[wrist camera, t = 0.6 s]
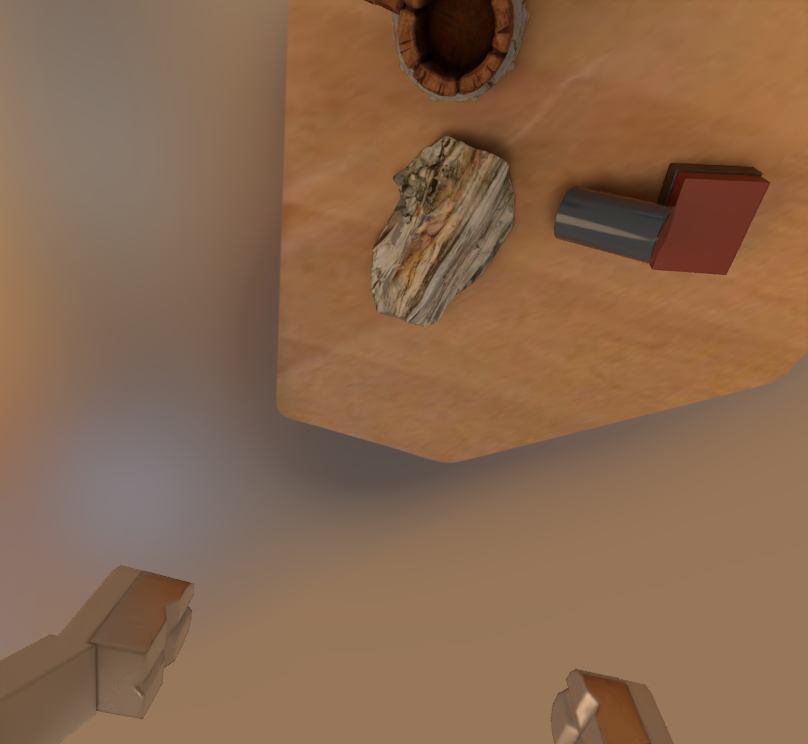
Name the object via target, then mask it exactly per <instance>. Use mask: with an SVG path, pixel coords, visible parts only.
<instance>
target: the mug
mask: <svg viewBox="0 0 808 744" xmlns="http://www.w3.org/2000/svg"><path fill="white" fill-rule="evenodd" d="M365 1H367V2H369V3H372V4H376V5H379V6H381V7H383V8H386V9H388V10H390V11H392V12H393V13H392V20H393V22H394V23H395V25H394V30H395V38H396V45H397V53H398V56H399V58H400V60H401V63H400V69H401V71H403V72H406V73H407V76H408V77H409V78H410V79H411V80H412V81H413V82H414V83H415V84H416V85H417V86H418V87H419V88H420V89H421V91H422V92H424V93H426V94H428V95H430V99H431V100H432V101H433V102H436V101H438V100H441V101H455V102H463V101H466V100H468V99H470V101H472V102H476V101H477V100H478V99H479V97H480V95H482V94H483V93H485V92H486V91H487V90H488V89H490V88H491V87H492V86H493V85H494V84H496V83H497V82H498V81H499V80H500V79H501V78H502V77H503V76H505V74H506V73H507V72H510V71H512V70H513V69H514V68H515V62H514V60H515V58H516V57H517V55H518V53H519V50H520V47H521V43H522V40H523V36H524V33H525V30H526V22H527V21H528V20H529V18H530V12H529V10H527V9H526V0H365ZM426 6H427V8H426V9H425V7H426ZM430 55H431V57H432V58H431V57H430ZM465 72H466V73H465Z"/></svg>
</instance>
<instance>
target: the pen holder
mask: <svg viewBox="0 0 808 744" xmlns="http://www.w3.org/2000/svg"><path fill="white" fill-rule="evenodd" d="M674 213H675V207H674V206H669V205H665V204H660V203H655V202H650V201H645V200H641V199H636V198H631V197H626V196H621V195H617V194H612V193H607V192H602V191H597V190H593V189H588V188H583V187H578V186H573V187H571V188H570V189H569V190H568V191H567V193H566V194H565V196H564V198H563V200H562V202H561V204H560V206H559V209H558V212H557V215H556V219H555V226H554V234H555V237H556V238H557V239H560V240H564V241H568V242H571V243H575V244H579V245H582V246H586V247H590V248H593V249H597V250H601V251H604V252H608V253H612V254H615V255H619V256H623V257H626V258H630V259H634V260H637V261H641V262H645V263H648V264H651V263H652V262H653V261H654V260H655V258H656V257H657V255H658V254H659V252H660V250H661V248H662V246H663V244H664V242H665V240H666V238H667V236H668V233H669V230H670V228H671V225H672V222H673V218H674Z"/></svg>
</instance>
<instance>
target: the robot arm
mask: <svg viewBox="0 0 808 744" xmlns="http://www.w3.org/2000/svg"><path fill="white" fill-rule="evenodd" d="M193 596H194V584H193V583H189V582H185V581H182V580H178V579H174V578H170V577H166V576H162V575H158V574H154V573H150V572H146V571H142V570H138V569H134V568H130V567H126V566H122V565H121V566H119V567H117V568H116V569H115V570H113V571H112V572H111V573H110V574H109V575H108V576H107V578H106V579H105V580H104V581H103V582H102V584H101V585H100V586H99V587H98V588H97V590H96V591H95V592H94V593H93V595H92V596H91V597H90V598H89V599H88V601H87V602H86V603H85V604H84V605H83V606H82V608H81V609H80V610H79V611H78V612H77V614H76V615H75V616H74V617H73V618H72V620H71V621H70V622H69V623H68V624H67V626H66V627H65V628H64V629H63V630H62V632H61V633H60V634H59V635H58V636H55V635H48V636H46V637H44V638H42V639H40V640H39V641H37V642H35V643H33V644H31V645H29V646H27V647H25V648H23V649H22V650H20V651H18V652H16V653H14V654H12V655H10V656H8V657H6V658H5V659H3V660H1V661H0V744H59V743H60V742H62V741H63V740H64V739H65V738H66V737H68V736H69V735H70V734H72V733H73V732H74V731H75V730H77V729H78V728H79V727H80V726H82V725H83V724H84V723H85V722H87V721H88V720H89V719H91V718H92V717H93V716H94V715H96V711H100V712H106V713H112V714H117V715H122V716H128V717H133V718H139V719H143V718H144V716H145V714H146V712H147V710H148V709H149V707H150V705H151V703H152V702H153V700H154V698H155V696H156V694H157V693H158V691H159V689H160V687H161V685H162V682H163V670H164V668H165V667H166V666H168V665H169V664H171V663H172V662H174V661H175V659H176V657H177V655H178V654H179V651H180V650H181V648H182V645H183V643H184V641H185V638H186V636H187V633H188V630H189V626H190V622H191V616H192V610H191V609H190V607H189V606H188V605H189V603H190V601H191V599H192V598H193ZM566 681H567V685H568V688H567V689H565V690H563V691H562V692H560V693H558V695H557V697H556V699H555V701H554V703H553V707H552V714H551V725H552V734H553V738H554V743H555V744H674V743H673V741H672V739H671V736H670V734H669V732H668V730H667V727H666V725H665V723H664V720H663V718H662V716H661V714H660V712H659V709H658V707H657V705H656V702H655V700H654V698H653V695H652V693H651V692H650V690H649V689H648V688H647V686H646V685H644V684H640V683H636V682H631V681H627V680H623V679H619V678H616V677H611V676H607V675H602V674H597V673H592V672H587V671H583V670H578V669H575V670H573V671H571V672H570V673H569V675H568V677H567V678H566Z"/></svg>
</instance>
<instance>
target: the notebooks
mask: <svg viewBox="0 0 808 744" xmlns="http://www.w3.org/2000/svg"><path fill="white" fill-rule="evenodd" d="M761 176H762V173H761V172H760V171H758V170H756V169H755V168H753V167H739V166H718V165H697V164H676V163H671V164H670V166H669V169H668V172H667V175H666V178H665V181H664V184H663V187H662V190H661V193H660V196H659V199H658V202H657V203H660V204H665V205H669V206H674V207H675V213H674V218H673V222H672V225H671V228H670V230H669V233H668V236H667V238H666V240H665V242H664V244H663V246H662V248H661V250H660V252H659V254H658V255H657V257H656V258H655V260H654V261H653V262H652V263H651V264H650V266H651V268H652V269H654V270H667V271H681V272H694V273H707V274H721V275H726V274H727V272H728V270H729V268H730V266H731V264H732V262H733V260H734V258H735V256H736V254H737V251H738V249H739V247H740V245H741V243H742V241H743V239H744V237H745V235H746V233H747V230H748V228H749V226H750V224H751V222H752V220H753V218H754V216H755V214H756V212H757V209H758V207H759V205H760V203H761V201H762V199H763V197H764V195H765V193H766V191H767V188H768V186H769V184H770V182H768V181H767V180H765V179H764V178H762V177H761Z"/></svg>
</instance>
